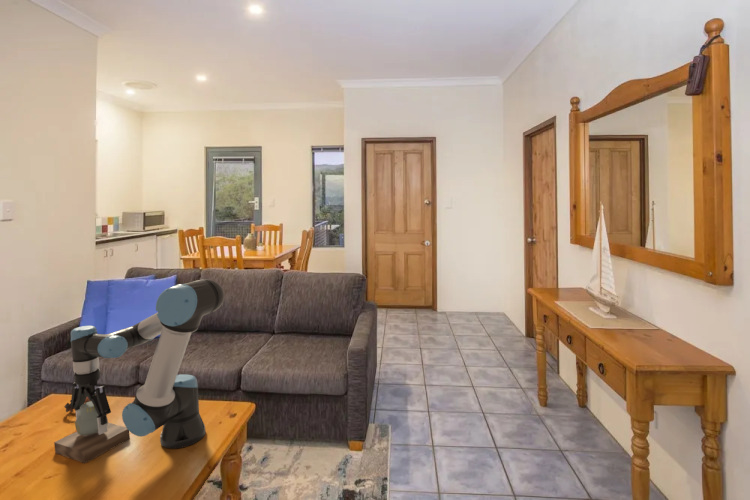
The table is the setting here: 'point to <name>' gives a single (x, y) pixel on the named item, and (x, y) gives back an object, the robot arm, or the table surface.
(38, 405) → the table surface
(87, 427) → the air freshener
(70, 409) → the brown curved piece
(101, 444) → the walnut stand
